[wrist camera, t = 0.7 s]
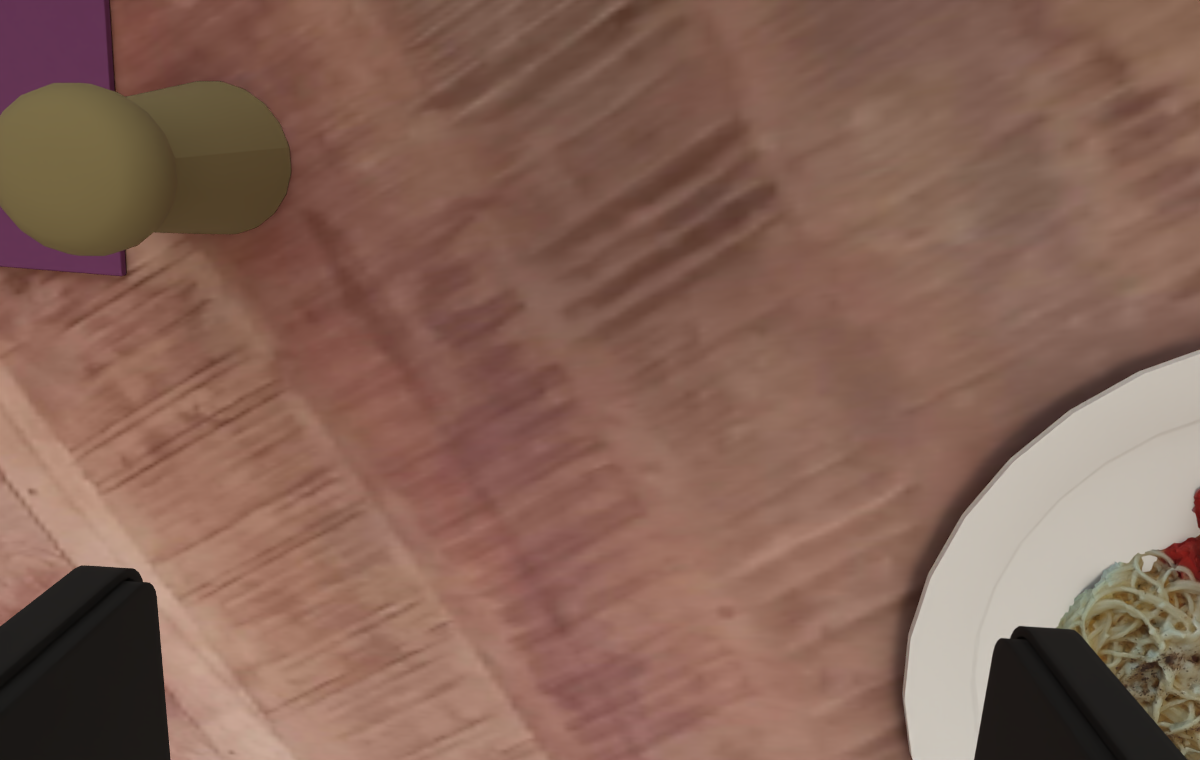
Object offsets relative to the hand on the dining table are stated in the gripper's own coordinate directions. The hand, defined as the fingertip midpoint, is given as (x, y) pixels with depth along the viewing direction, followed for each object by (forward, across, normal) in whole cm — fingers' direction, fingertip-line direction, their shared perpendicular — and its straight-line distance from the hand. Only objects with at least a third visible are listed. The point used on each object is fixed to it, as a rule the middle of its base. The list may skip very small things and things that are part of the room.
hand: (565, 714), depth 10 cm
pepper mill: (+29, +16, -4) cm, 34 cm away
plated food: (+29, -28, +15) cm, 43 cm away
